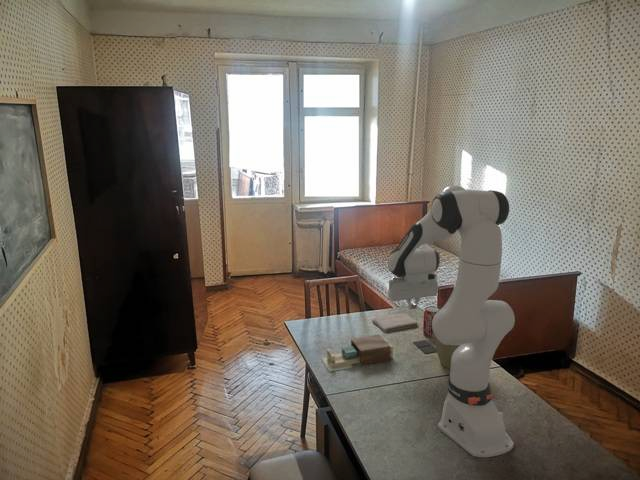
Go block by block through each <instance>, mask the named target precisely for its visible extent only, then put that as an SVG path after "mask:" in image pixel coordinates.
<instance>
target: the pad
mask: <svg viewBox="0 0 640 480" xmlns="http://www.w3.org/2000/svg"><path fill="white" fill-rule="evenodd" d="M321 361H322V362H323V364H324V365H325V367H326V368H327V370H328V371H329V372H330V373H332V372H337V371H342V370H347V369H349V370H350V369H352V368H353V366H352V364H349V365H343V366H338V367H331V365H330V363H329V362H328V360H327V356H326V357H322V358H321Z"/></svg>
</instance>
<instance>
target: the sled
mask: <svg viewBox="0 0 640 480" xmlns="http://www.w3.org/2000/svg"><path fill="white" fill-rule="evenodd" d="M384 340H385V341H386V342H387V343H388V344H389V345H390V358H393V353H394V351H393V349H394V346H393V345H392V344H391V343H390V342H389V341H388V340H387V339H384ZM326 357H327V360H328V362H329V363H330V365H331V367H338V366H343V365H349V364H350V365H353V364H360V351H356V350H355V349H354V347H353V346H351V345H350V346H344V347H341V353H338V354H334V352H333V351H332V350H331V348H327V349H326Z"/></svg>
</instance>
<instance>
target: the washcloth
mask: <svg viewBox="0 0 640 480" xmlns="http://www.w3.org/2000/svg"><path fill="white" fill-rule="evenodd" d="M371 321H372V323H373V324H374V325H375V326H377V327H378V328H379V330H381V331H383V332H384V333H389V332H390V333H391V332H395V331H399V330H404V329H410V328H416V327H418V326H419V325H418V324H419V323H418V321H417V320H415V319H414V318H413V317H411V315H408V314H407V313H405V312H404V313H403V312H402V313H392V314H387V315H382V316H377V317H374V318H373V319H372V320H371Z"/></svg>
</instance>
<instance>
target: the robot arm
mask: <svg viewBox="0 0 640 480" xmlns="http://www.w3.org/2000/svg"><path fill="white" fill-rule="evenodd" d="M509 215H510V202H509V200H508V198H507V196H506V195H505V193H503V192H501V191H497V190H493V189H489V190H481V189H480V190H478V189H466V188H464V187H462V186H460V185H455V184H454V185H453V184H452V185H449V186H446V187H445V188H443V189H442V190H441V192H439V193H437V194H436V195H435V196H434V198H433V199H432V202H431V207H430V209H429V210H428V212H427V213H426V214H425V215H424V216H423V217H422V218H420V220H418V221H416V222H415V223H414V224H413V225H411V227H409V229H408V231H407V232H406V233H405V235H404V236H403V237H402V239H401V241H400V242H399V243H398V245H397V246H396V247H395V248H394V249H393V250H392V251H391V252H390V254H389V255H388V259H387V267H388V270H389V272H390V273H391V274H393V275H394V276H393V277H392V278H391V279H390V280H389V281H388V290H387V291H388V292H387V298H388V299H389V300H390V301H391V302H398V301H406V303H407V305H408V309H409V310H416V309H418V304H419V302H420V301H421V298H428V297H436V296H437V295H438V293H439V283H438V280H437V278H438V274H437V273H436V272H437V270H438V269H439V267H440V264H441V263H440V262H441V261H440V260H441V259H440V258H441V257H440V253H438V251H437V250H436V249H434V248H433V247H431V246H430V245H429V244H430V243H435V242H439V241H445V240H447V239H450V238H452V237H454V235H456V234H457V233H459V235H460V238H461V245H460V251H459V259H458V267H457V269H458V270H457V276H456V282H455V285H454V288H453V290H452V292H451V294H450V295H449V298H448V300H447V301H446V302H445V304H444V305H443V306H442V307H441V308H439V311H438V312H437V313H436V314H435V315H434V317H433V321H432V329H433V333H434V335H435V337H436V338H437V339H438V340H439V341H440V342H441V343H442V344H445V345H460V346H459V347H458V348H457V349H456V350H455V351H454V352H453V354H452V357H451V368H449V369H450V371H449V377H448V380H447V391H448V392H447V394H446V397H445V400H444V402H443V406H442V407H443V408H442V413H441V417H440V421H438V424H437V427H438V429H439V430H441V432H443V433H444V434H445V435H446V436H448V437H449V438H450V439H451V440H453V441H454V442H455V443H456V444H457V445H459V446H460V447H461V448H463V449H464V451H466V452H467V453H469V454H470V455H471V456H473V457H477V458H492V457H496V456H500V455H504V454H506V453H508V452H509V451H511V450H513V449H514V446H515V443H514V441H513V440H512V438H511V437H510V436H509V434H508V433H507V432H506V424H505V421H504V414H503V412H501V411H499V410H498V408H497V407H496V404H495V402H494V401H493V400H492V399H493V398H494V395H495V394H494V393H492V390H491V386H490V382H489V380H490V372H491V365H492V360H493V358H494V355H495V353H496V351H497V348H498V347H499V345H500V343H501V342H502V341H503V339H504V338H505V336H506V335H507V334H508V333H509V332H510V331H512V330H513V328H514V326H515V322H516V320H515V319H516V317H515V313H514V311H513V308H512V307H511V306H510V305H509V304H508V302H506V301H503V300H497V299H495V300H494V299H489V298H490V297H491V296H492V295H494V294H495V292H496V291H497V290H498V288H499V282H500V275H501V268H502V267H501V266H502V258H503V257H502V256H503V236H502V229H501V227H500V225H503V224H505V222H506V221H507V219H508V217H509ZM412 300H414V302H412Z"/></svg>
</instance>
